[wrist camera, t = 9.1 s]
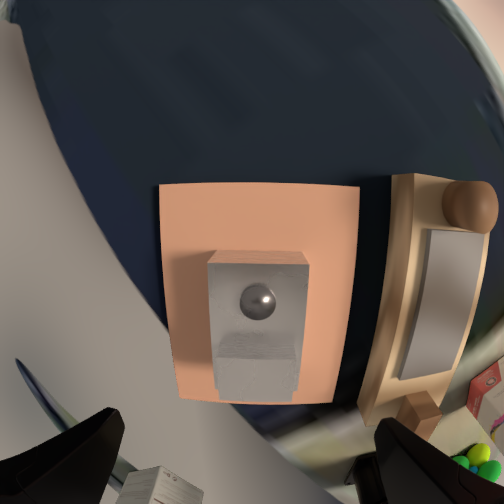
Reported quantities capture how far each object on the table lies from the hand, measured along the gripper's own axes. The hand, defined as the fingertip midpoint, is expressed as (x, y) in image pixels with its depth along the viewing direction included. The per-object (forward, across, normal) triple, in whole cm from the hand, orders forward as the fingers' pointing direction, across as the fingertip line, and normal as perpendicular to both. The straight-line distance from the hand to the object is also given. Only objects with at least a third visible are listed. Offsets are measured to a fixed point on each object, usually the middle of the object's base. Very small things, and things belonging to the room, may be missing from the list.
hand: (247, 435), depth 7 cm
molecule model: (+11, -32, +29) cm, 45 cm away
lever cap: (+10, 0, 0) cm, 10 cm away
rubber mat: (+11, 0, 0) cm, 11 cm away
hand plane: (+11, -12, 0) cm, 16 cm away
